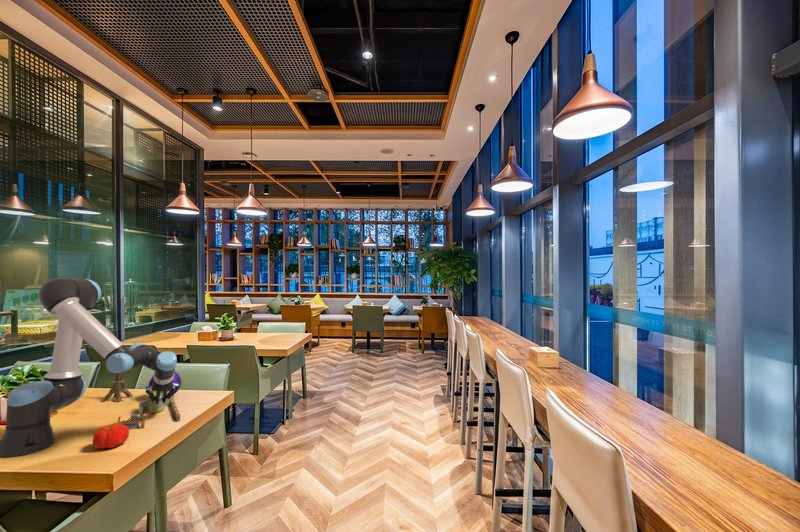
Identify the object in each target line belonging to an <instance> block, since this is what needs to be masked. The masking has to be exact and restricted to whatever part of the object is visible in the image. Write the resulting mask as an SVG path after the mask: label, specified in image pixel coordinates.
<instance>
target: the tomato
mask: <svg viewBox="0 0 800 532" xmlns="http://www.w3.org/2000/svg"><path fill="white" fill-rule="evenodd" d="M122 424H123V423H121V422H120V423H119V422H115V423H110V424H106V425H103V426H101V427H100V428H99V429H97V431H96V432H95V433H94V435H93V438H92V445H93V446H94V447H95V448H97V449H100V450H102V449H106V448H108V449H113V448H115V447H118V446H120V445H123V444H125V442H126V441H127V440H128V438H129V437H130V436H129V434H130V429H129V428H128V427H127V426H125V425H122Z"/></svg>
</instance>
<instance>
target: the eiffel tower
mask: <svg viewBox="0 0 800 532" xmlns="http://www.w3.org/2000/svg"><path fill="white" fill-rule="evenodd" d="M114 374H115V375H114V379H113V380H112V382H111V383H112V386H111V388H110V389H109V391H108V393H107V394H106V395H105V396H104V397H103V398H102V399H101V400H100V401H99V403H106V402H109V401H110V398H111V397H112V398H115V400H114V403H121V402H124V400H123V398H122V395H121V394H122V393H123V394H124V395H125V398H126V397H127V398H126V399H129V397H130V399H132V398H134V397H133V396H134V395H133V394H132V393H131V391H129V390H128V389H127V387H126V385H125V379H124V377H123V376H124V375H123V372H121V373H114ZM131 397H132V398H131ZM108 400H109V401H108ZM105 401H106V402H105ZM120 401H121V402H120Z"/></svg>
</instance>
